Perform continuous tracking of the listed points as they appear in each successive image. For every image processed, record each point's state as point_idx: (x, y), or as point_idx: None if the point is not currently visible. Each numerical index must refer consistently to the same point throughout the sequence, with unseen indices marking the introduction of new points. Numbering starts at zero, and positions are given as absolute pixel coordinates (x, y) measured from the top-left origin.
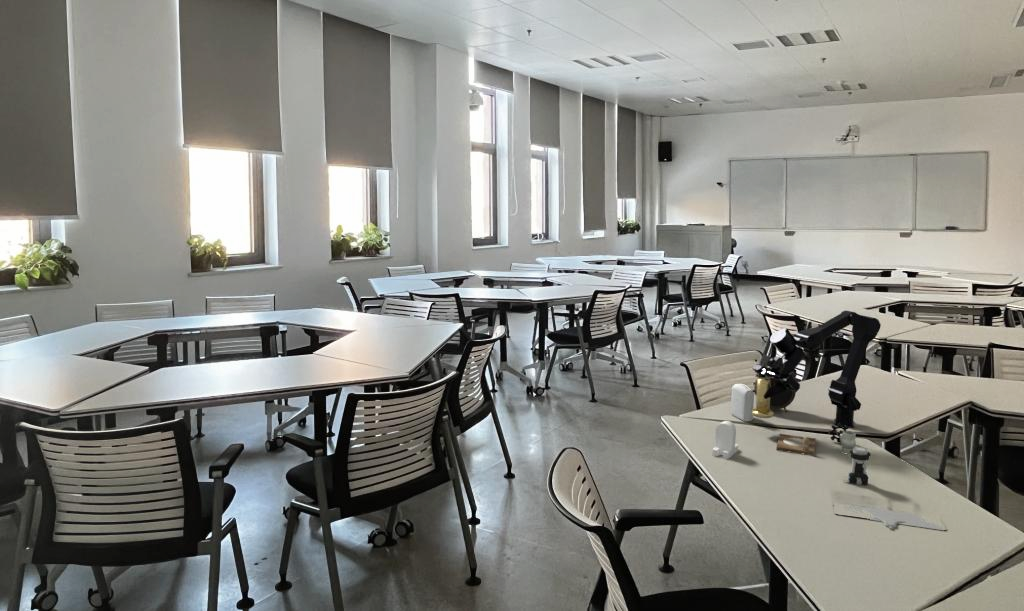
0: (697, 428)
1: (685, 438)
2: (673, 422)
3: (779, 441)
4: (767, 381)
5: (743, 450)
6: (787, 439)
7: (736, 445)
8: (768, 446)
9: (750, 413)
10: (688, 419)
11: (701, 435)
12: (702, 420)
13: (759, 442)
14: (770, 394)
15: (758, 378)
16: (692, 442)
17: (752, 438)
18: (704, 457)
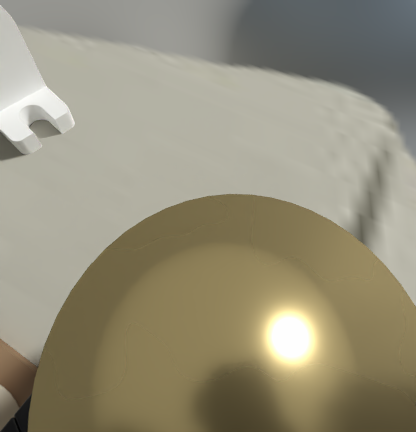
0: (267, 130)
1: (177, 62)
2: (328, 92)
3: (5, 359)
4: (46, 391)
5: (9, 169)
6: (5, 422)
7: (5, 130)
8: (10, 289)
9: None
10: (362, 143)
11: (196, 112)
12: (355, 181)
13: (71, 275)
14: None
15: (321, 242)
16: (138, 64)
17: None
18: None
